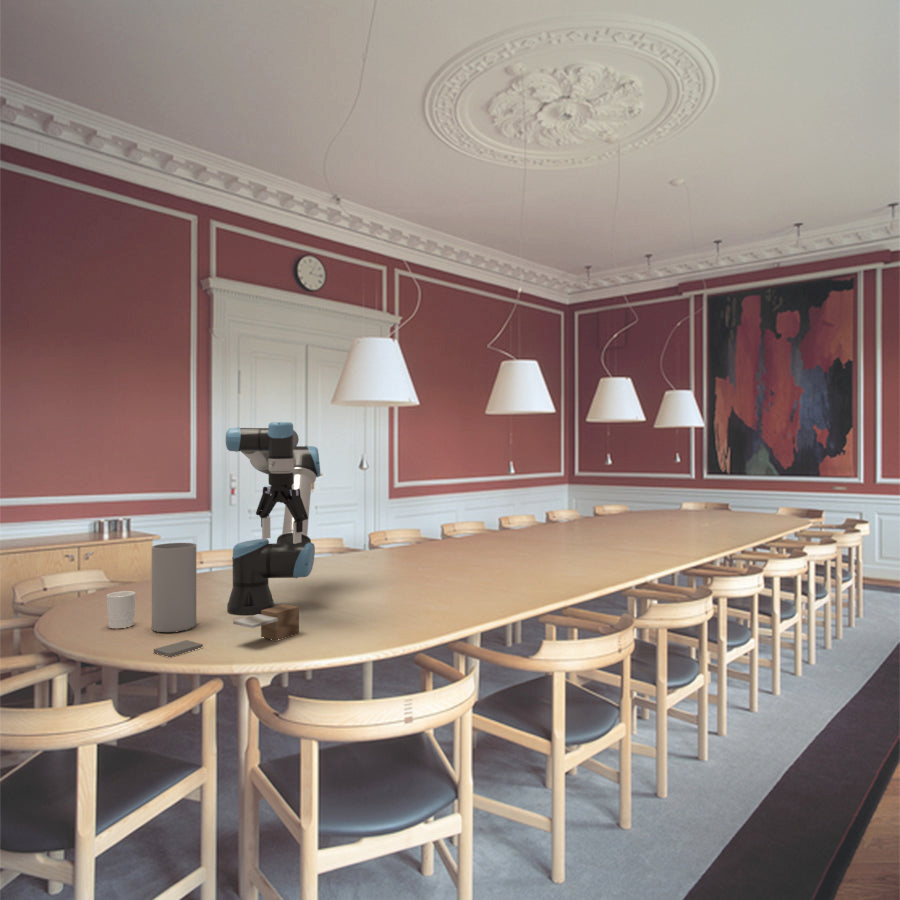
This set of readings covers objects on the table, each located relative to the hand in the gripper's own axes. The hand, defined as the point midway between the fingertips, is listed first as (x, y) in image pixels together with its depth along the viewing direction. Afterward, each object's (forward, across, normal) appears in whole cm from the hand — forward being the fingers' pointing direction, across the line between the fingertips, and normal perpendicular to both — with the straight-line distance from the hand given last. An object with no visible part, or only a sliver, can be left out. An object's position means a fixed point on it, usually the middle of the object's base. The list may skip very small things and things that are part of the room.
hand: (281, 540), depth 202 cm
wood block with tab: (+25, +9, -14) cm, 30 cm away
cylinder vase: (+26, -24, -21) cm, 41 cm away
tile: (+25, -3, -29) cm, 38 cm away
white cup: (+26, -39, -29) cm, 55 cm away
